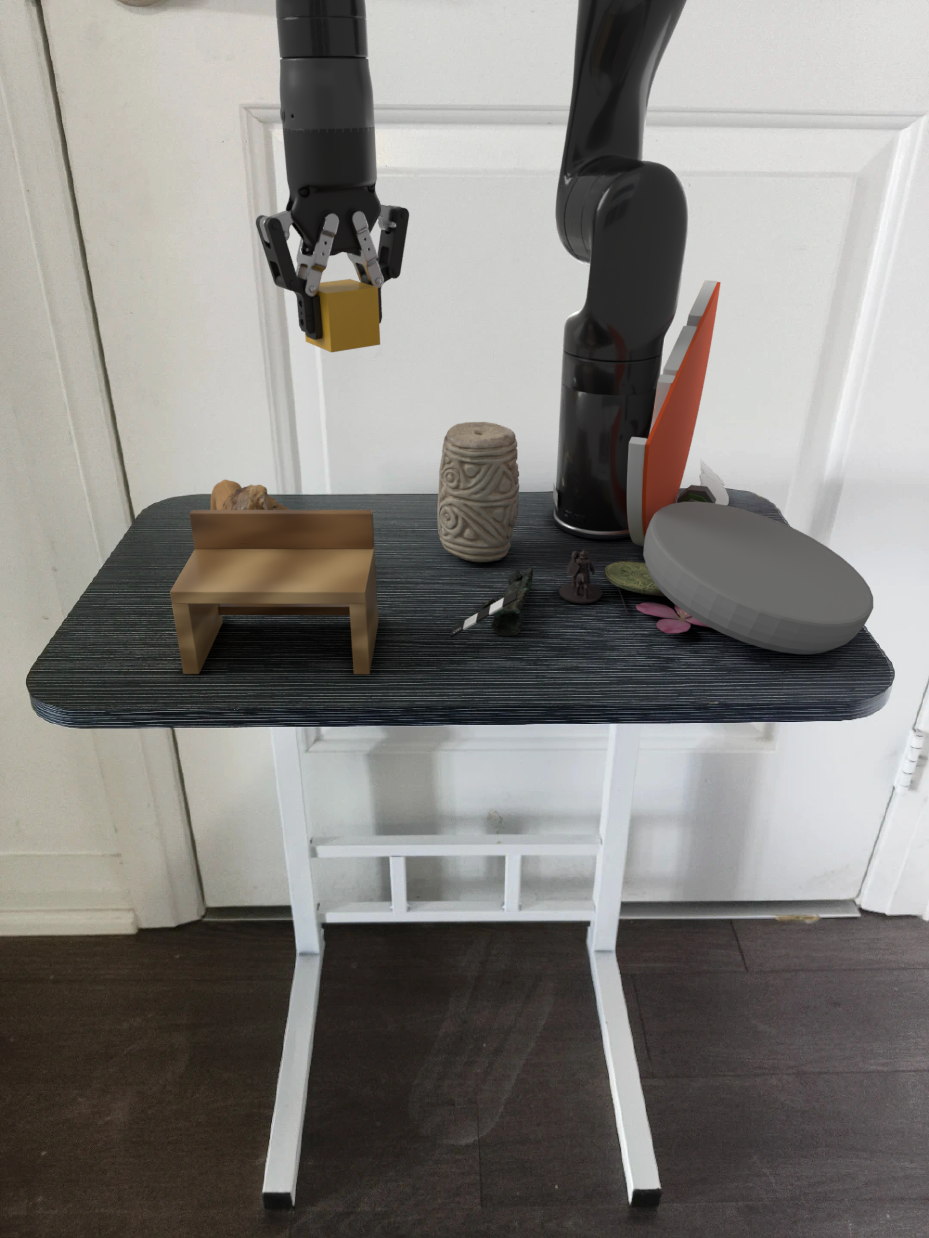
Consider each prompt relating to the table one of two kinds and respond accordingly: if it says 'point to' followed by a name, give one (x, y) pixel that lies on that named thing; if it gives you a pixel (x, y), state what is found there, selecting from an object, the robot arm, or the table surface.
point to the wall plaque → (671, 419)
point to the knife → (706, 489)
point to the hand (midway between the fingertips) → (342, 333)
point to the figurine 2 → (582, 581)
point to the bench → (277, 574)
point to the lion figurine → (242, 497)
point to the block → (348, 315)
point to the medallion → (632, 577)
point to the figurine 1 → (504, 607)
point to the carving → (478, 491)
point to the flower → (669, 617)
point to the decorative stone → (755, 578)
